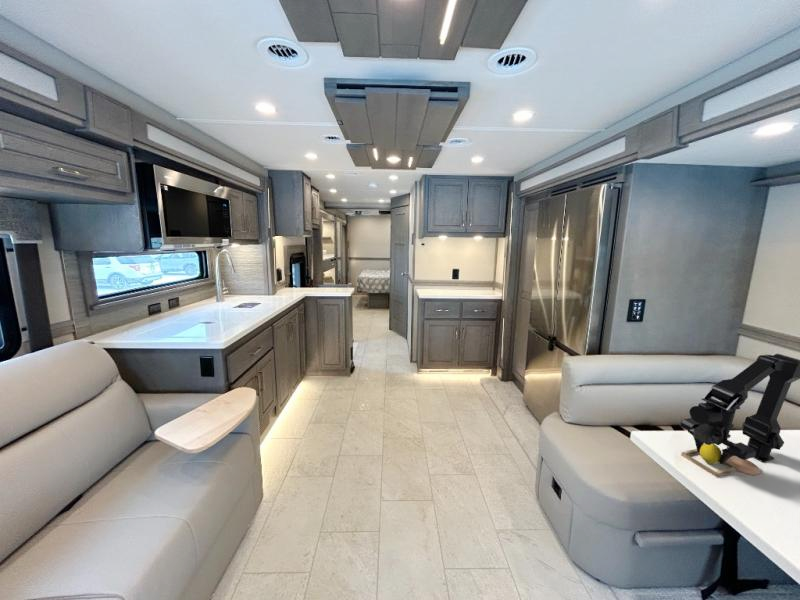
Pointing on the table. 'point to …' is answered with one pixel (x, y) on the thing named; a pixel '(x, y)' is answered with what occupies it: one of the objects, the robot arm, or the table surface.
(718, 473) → the wooden picture frame
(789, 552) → the table surface
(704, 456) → the lemon
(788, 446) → the table surface
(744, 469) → the saucer
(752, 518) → the table surface
